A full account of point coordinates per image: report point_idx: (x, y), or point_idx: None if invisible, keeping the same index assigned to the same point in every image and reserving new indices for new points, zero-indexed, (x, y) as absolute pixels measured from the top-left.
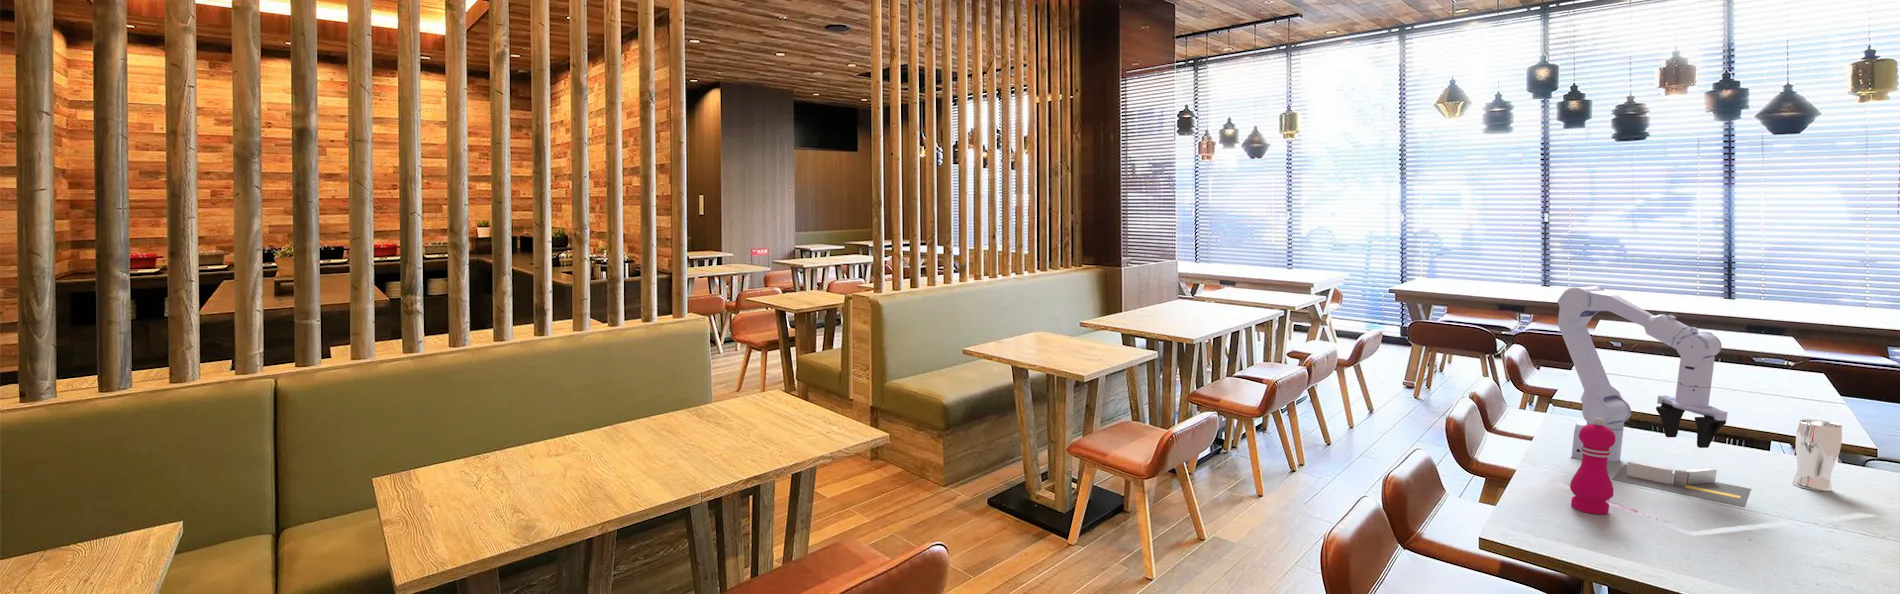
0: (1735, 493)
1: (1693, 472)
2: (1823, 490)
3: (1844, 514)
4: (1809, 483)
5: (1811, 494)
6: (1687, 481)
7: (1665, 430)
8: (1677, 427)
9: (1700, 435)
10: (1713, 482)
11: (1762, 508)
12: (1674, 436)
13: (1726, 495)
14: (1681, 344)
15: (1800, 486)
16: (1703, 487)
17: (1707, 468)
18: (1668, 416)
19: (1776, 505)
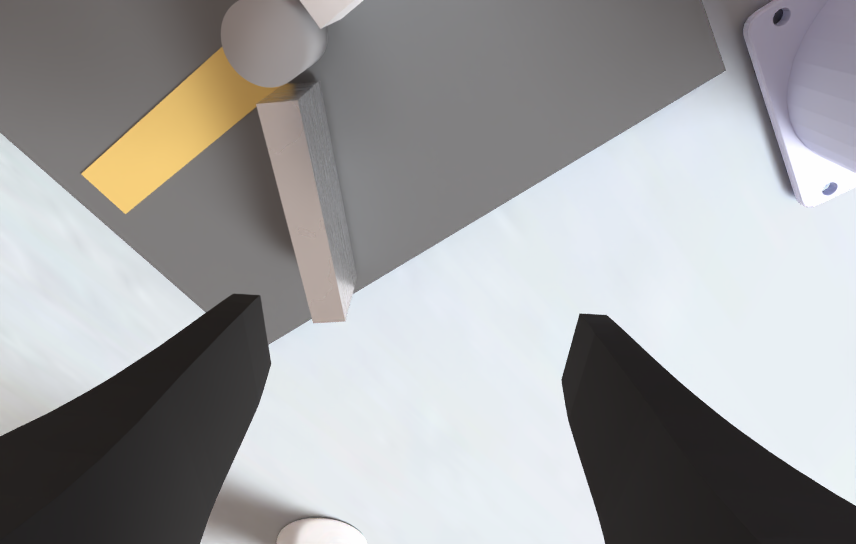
0: (169, 227)
1: (267, 142)
2: (277, 538)
3: None
4: (293, 542)
5: (250, 492)
6: (282, 86)
7: (630, 350)
8: (591, 471)
9: (141, 368)
10: None
11: (17, 192)
12: (567, 373)
13: (118, 143)
14: None
15: (317, 520)
16: (258, 151)
17: (337, 297)
18: (698, 531)
19: (87, 291)
